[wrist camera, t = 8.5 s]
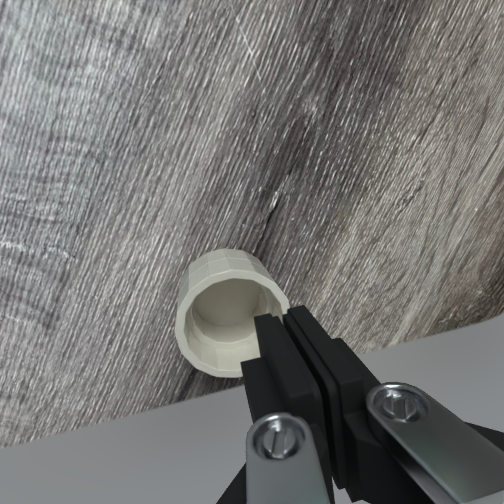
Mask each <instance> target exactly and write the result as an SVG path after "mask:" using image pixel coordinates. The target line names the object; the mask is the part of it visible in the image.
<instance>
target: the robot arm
mask: <svg viewBox="0 0 504 504" xmlns="http://www.w3.org/2000/svg"><path fill="white" fill-rule="evenodd" d="M282 321H283V324H282V322H281V320H280V319H279V317H278V316H274V317H273V316H272V315H271V313H267V314H263V315H259V316H254V323H255V329H256V335H257V340H258V346H259V352H260V357H258V358H254V359H250V360H246V361H242V362H240V364H241V370H242V375H243V380H244V385H245V390H246V395H247V399H248V404H249V408H250V412H251V416H252V420H253V425H252V426H251V428H250V429H249V431H248V433H247V437H246V463H245V464H244V466H243V467H242V469H241V470H240V471H239V473H238V474H237V475H236V477H235V478H234V480H233V481H232V482H231V484H230V485H229V486H228V488H227V489H226V491H225V492H224V493H223V495H222V496H221V498H220V499H219V500H218V502H217V503H216V504H335V500H334V492H333V483H332V477H333V480H334V482H335V484H336V486H337V488H338V489H339V490H340V489H343V488H345V489H346V491H347V493H348V495H349V497H350V499H351V501H352V503H353V502H356V501H359V500H364V501H366V502H368V503H370V504H504V433H503V432H499V431H496V430H492V429H489V428H485V427H481V426H478V425H474V424H471V423H467V422H464V421H462V420H461V419H460V418H458V417H457V416H456V415H455V414H453V413H452V412H451V411H449V410H448V409H447V408H445V407H444V406H443V405H441V404H440V403H439V402H437V401H436V400H435V399H433V398H432V397H431V396H429V395H428V394H427V393H425V392H424V391H422V390H420V389H419V388H417V387H415V386H412V385H409V384H406V383H400V382H386V383H382V384H381V383H380V382H379V381H378V380H377V379H376V377H375V376H374V375H373V374H372V373H371V372H370V371H369V369H368V368H367V367H366V366H365V365H364V364H363V363H362V361H361V360H360V359H359V358H358V357H357V356H356V354H355V353H354V352H353V351H352V350H351V349H350V348H349V346H348V345H347V344H346V343H345V342H344V341H343V340H342V339H341V338H335V339H331V338H330V336H329V335H328V334H327V333H326V331H325V330H324V329H323V328H322V326H321V325H320V324H319V323H318V322H317V320H316V319H315V318H314V317H313V315H312V314H311V313H310V312H309V310H308V309H307V308H306V307H305V306H304V305H302V306H297V307H293V308H289V309H287V314H282Z"/></svg>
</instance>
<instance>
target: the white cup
mask: <svg viewBox="0 0 504 504" xmlns="http://www.w3.org/2000/svg"><path fill="white" fill-rule="evenodd" d="M289 308H290V305H289V301H288V298H287V297H286V296H285V294H284V293H283V292H282V290H281V289H280V287H279V286H278V285H277V283H276V282H275V280H274V279H273V278H272V276H271V275H270V273H269V272H268V271H267V269H266V268H265V267H264V265H263V264H262V263H261V261H260V260H259V259H257V258H256V257H254V256H252V255H250V254H249V253H247V252H245V251H242V250H235V249H227V248H225V249H219V250H216V251H212V252H208V253H206V254H203V255H202V256H201V257H199V258H198V259H197V260H195V261H194V262H193V263H191V264H190V265H189V266H188V268H187V270H186V272H185V273H184V275H183V277H182V278H181V280H180V283H179V291H178V300H177V310H176V321H175V331H174V332H175V336H176V339H177V342H178V345H179V348H180V351H181V353H182V354H183V355H184V356H185V358H186V359H187V360H188V361H189V362H190V363H191V364H192V365H193V366H194V367H195V368H196V369H198V370H201V371H203V372H205V373H208V374H210V375H212V376H215V377H229V378H237V377H238V378H239V377H242V376H243V375H242V370H241V364H240V362H242V361H246V360H250V359H254V358H258V357H260V352H259V346H258V340H257V335H256V329H255V323H254V316H259V315H263V314H267V313H271V315H272V316H273V317H274V316H278V317H279V319H280V320H281V322H282V324H283V321H282V314H287V309H289Z"/></svg>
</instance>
